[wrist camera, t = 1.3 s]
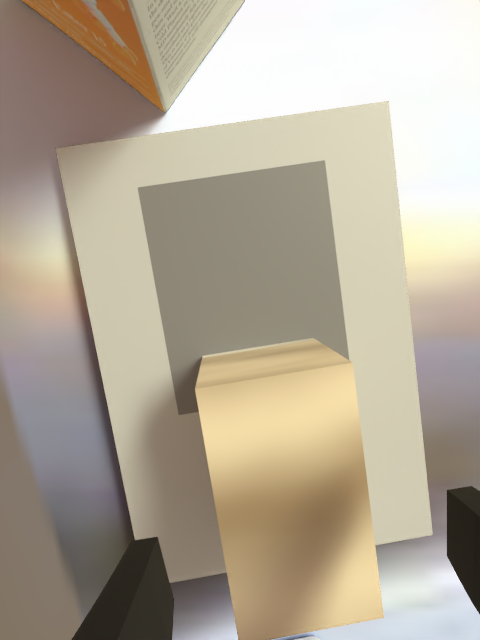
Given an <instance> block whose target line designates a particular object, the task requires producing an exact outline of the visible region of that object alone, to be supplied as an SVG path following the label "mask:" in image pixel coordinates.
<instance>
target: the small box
mask: <svg viewBox="0 0 480 640" xmlns="http://www.w3.org/2000/svg"><path fill="white" fill-rule="evenodd" d="M21 1H23V2H24V3H26V4H27V5H28V6H30V7H31V8H32V9H34V10H35V11H36V12H38V13H39V14H40V15H42V16H43V17H44V18H46V19H47V20H48V21H50V22H51V23H52V24H54V25H55V26H56V27H58V28H59V29H60V30H61V31H63V32H64V33H65V34H66V35H68V36H69V37H70V38H71V39H73V40H74V41H75V42H77V43H78V44H79V45H81V46H82V47H83V48H84V49H86V50H87V51H88V52H90V53H91V54H92V55H93V56H95V57H96V58H97V59H98V60H100V61H101V62H102V63H103V64H105V65H106V66H107V67H108V68H110V69H111V70H112V71H113V72H115V73H116V74H117V75H118V76H120V77H121V78H122V79H123V80H125V81H126V82H127V83H128V84H130V85H131V86H132V87H133V88H135V89H136V90H137V91H138V92H139V93H141V94H142V95H143V96H144V97H145V98H147V99H148V100H149V101H150V102H152V103H153V104H154V105H155V106H157V107H158V108H159V109H160V110H161V111H163V112H166V111H168V109H169V108H170V106H171V105H172V103H173V102H174V101H175V99H176V98H177V96H178V95H179V93H180V92H181V90H182V89H183V88H184V86H185V85H186V83H187V82H188V81H189V79H190V78H191V76H192V75H193V73H194V72H195V71H196V69H197V68H198V66H199V65H200V63H201V62H202V60H203V59H204V58H205V56H206V55H207V53H208V52H209V51H210V49H211V48H212V46H213V45H214V44H215V42H216V41H217V40H218V38H219V37H220V35H221V34H222V32H223V31H224V29H225V28H226V27H227V25H228V24H229V22H230V21H231V19H232V18H233V16H234V15H235V13H236V12H237V11H238V9H239V8H240V6H241V5H242V4H243V2H244V1H245V0H21Z"/></svg>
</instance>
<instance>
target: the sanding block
mask: <svg viewBox="0 0 480 640" xmlns="http://www.w3.org/2000/svg"><path fill="white" fill-rule="evenodd" d="M195 392H196V398H197V404H198V409H199V415H200V421H201V427H202V432H203V438H204V444H205V450H206V455H207V461H208V467H209V473H210V478H211V484H212V490H213V496H214V501H215V507H216V513H217V519H218V524H219V530H220V536H221V542H222V548H223V553H224V559H225V565H226V571H227V576H228V582H229V588H230V594H231V599H232V605H233V611H234V617H235V622H236V628H237V634H238V640H270V639H275V638H280V637H286V636H291V635H296V634H301V633H306V632H312V631H317V630H322V629H327V628H333V627H338V626H343V625H348V624H354V623H359V622H364V621H369V620H375V619H380V618H384V615H383V606H382V598H381V590H380V582H379V574H378V565H377V557H376V549H375V541H374V533H373V524H372V516H371V508H370V500H369V491H368V483H367V475H366V467H365V459H364V450H363V442H362V434H361V426H360V417H359V409H358V401H357V393H356V385H355V376H354V368H353V363H352V362H351V361H349V360H348V359H346V358H344V357H343V356H341V355H340V354H338V353H337V352H335V351H333V350H332V349H330V348H329V347H327V346H325V345H324V344H322V343H321V342H319V341H317V340H316V339H314V338H309V339H303V340H297V341H291V342H285V343H279V344H273V345H266V346H260V347H254V348H248V349H242V350H236V351H229V352H223V353H217V354H211V355H205V356H202V361H201V365H200V369H199V374H198V378H197V382H196V387H195Z"/></svg>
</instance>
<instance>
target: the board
mask: <svg viewBox="0 0 480 640" xmlns="http://www.w3.org/2000/svg"><path fill="white" fill-rule="evenodd" d="M55 149H56V154H57V159H58V164H59V169H60V174H61V179H62V183H63V188H64V193H65V198H66V203H67V208H68V213H69V218H70V223H71V228H72V233H73V238H74V243H75V247H76V252H77V257H78V262H79V267H80V272H81V277H82V282H83V287H84V292H85V297H86V302H87V307H88V311H89V316H90V321H91V326H92V331H93V336H94V341H95V346H96V351H97V356H98V361H99V366H100V371H101V375H102V380H103V385H104V390H105V395H106V400H107V405H108V410H109V415H110V420H111V425H112V430H113V435H114V439H115V444H116V449H117V454H118V459H119V464H120V469H121V474H122V479H123V484H124V489H125V494H126V499H127V503H128V508H129V513H130V518H131V523H132V528H133V533H134V538H135V540H139V539H146V538H152V537H158V540H159V544H160V548H161V551H162V555H163V559H164V563H165V567H166V571H167V575H168V579H169V583H173V582H178V581H184V580H189V579H194V578H200V577H205V576H211V575H216V574H222V573H227V571H226V565H225V559H224V553H223V548H222V542H221V536H220V530H219V524H218V519H217V513H216V507H215V501H214V496H213V490H212V484H211V478H210V473H209V467H208V461H207V455H206V450H205V444H204V438H203V432H202V427H201V421H200V415H199V409H198V404H197V398H196V392H195V387H196V382H197V378H198V374H199V369H200V365H201V361H202V356H205V355H211V354H217V353H223V352H229V351H236V350H242V349H248V348H254V347H260V346H266V345H273V344H279V343H285V342H291V341H297V340H303V339H309V338H314V339H316V340H317V341H319V342H321V343H322V344H324V345H325V346H327V347H329V348H330V349H332V350H333V351H335V352H337V353H338V354H340V355H341V356H343V357H344V358H346V359H348V360H349V361H351V362H352V363H353V368H354V376H355V385H356V393H357V401H358V409H359V417H360V426H361V434H362V442H363V450H364V459H365V467H366V475H367V483H368V491H369V500H370V508H371V516H372V524H373V533H374V541H375V545H379V544H385V543H390V542H396V541H401V540H407V539H412V538H418V537H423V536H428V535H433V534H432V524H431V514H430V504H429V494H428V484H427V475H426V465H425V455H424V445H423V435H422V425H421V416H420V406H419V396H418V386H417V376H416V366H415V357H414V347H413V337H412V327H411V317H410V307H409V298H408V288H407V278H406V268H405V258H404V248H403V239H402V229H401V219H400V209H399V199H398V189H397V180H396V170H395V160H394V150H393V140H392V130H391V121H390V111H389V101H386V102H379V103H372V104H365V105H358V106H350V107H343V108H336V109H329V110H322V111H315V112H308V113H301V114H294V115H287V116H280V117H272V118H265V119H258V120H251V121H244V122H237V123H230V124H223V125H216V126H209V127H202V128H194V129H187V130H180V131H173V132H166V133H159V134H152V135H145V136H138V137H131V138H124V139H116V140H109V141H102V142H95V143H88V144H81V145H74V146H67V147H60V148H55Z"/></svg>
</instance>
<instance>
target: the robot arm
mask: <svg viewBox="0 0 480 640" xmlns="http://www.w3.org/2000/svg"><path fill="white" fill-rule="evenodd" d="M447 557H448V559H449V561H450V562H451V564H452V566H453V568H454V570H455V572H456V574H457V576H458V578H459V580H460V581H461V583H462V585H463V587H464V589H465V590H466V592H467V594H468V596H469V598H470V599H471V601H472V603H473V605H474V606H475V608H476V609H477V611H478V612H479V614H480V491H479V490H477V489H475V488H474V487H472V486H470V487H463V488H457V489H451V490H447ZM173 609H174V598H173V594H172V590H171V587H170V583H169V579H168V575H167V571H166V567H165V563H164V559H163V555H162V551H161V548H160V544H159V540H158V537H152V538H146V539H139V540H133V541H132V543H131V544H130V545H129V547H128V549H127V550H126V552H125V554H124V555H123V557H122V559H121V560H120V562H119V564H118V566H117V567H116V569H115V571H114V572H113V574H112V576H111V577H110V579H109V581H108V582H107V584H106V586H105V587H104V589H103V591H102V592H101V594H100V596H99V597H98V599H97V600H96V602H95V604H94V605H93V607H92V608H91V610H90V612H89V613H88V615H87V616H86V618H85V619H84V621H83V623H82V624H81V626H80V627H79V629H78V631H77V632H76V634H75V636H74V637H73V638H72V640H172V628H173ZM294 640H320V639H319V638H318V637H315V636H310V637H305V638H299V639H294Z"/></svg>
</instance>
